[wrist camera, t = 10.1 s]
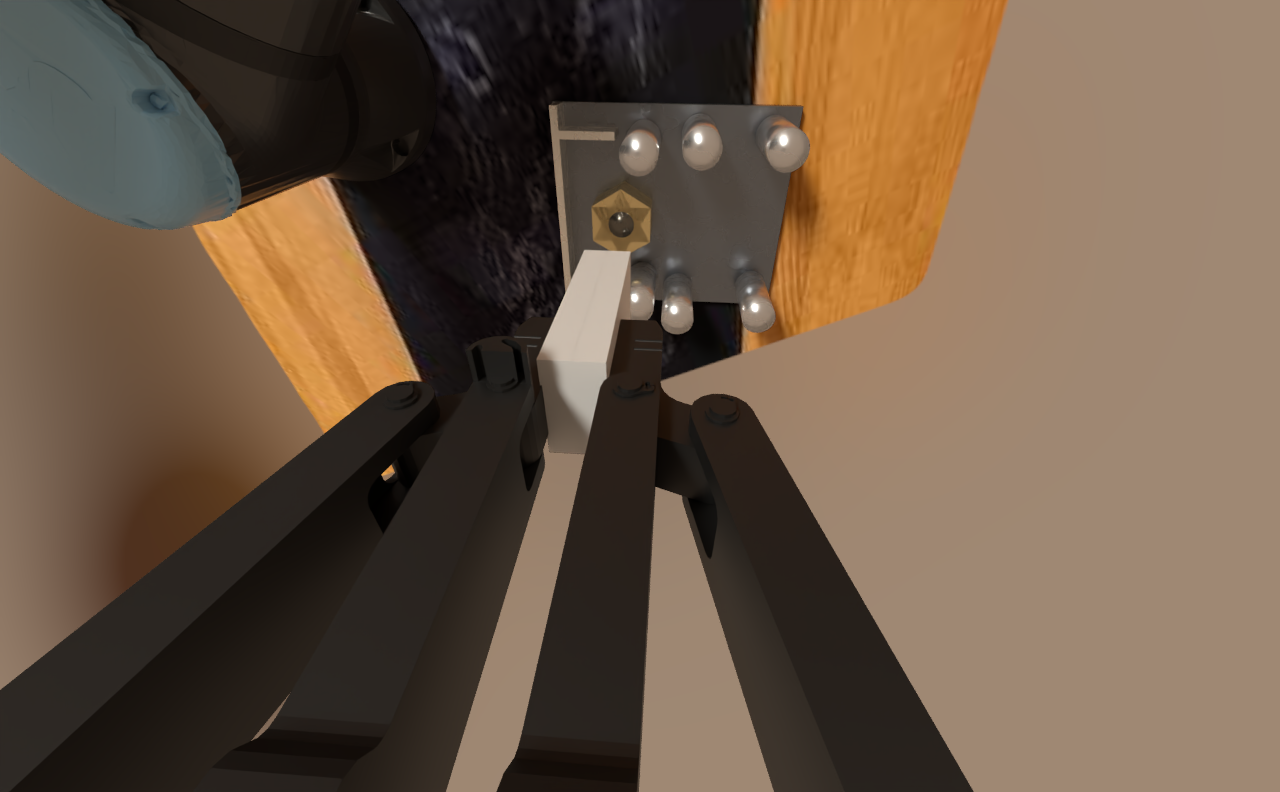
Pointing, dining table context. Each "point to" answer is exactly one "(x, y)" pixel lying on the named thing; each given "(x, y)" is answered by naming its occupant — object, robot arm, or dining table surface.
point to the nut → (622, 218)
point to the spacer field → (683, 196)
